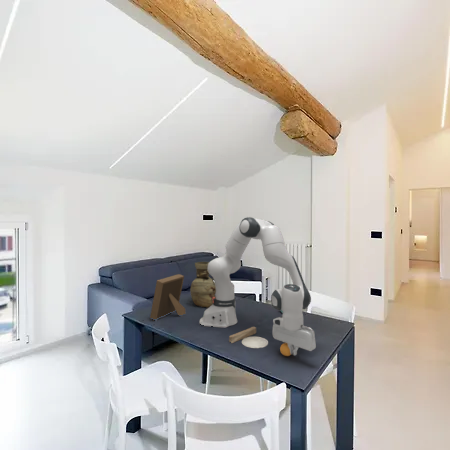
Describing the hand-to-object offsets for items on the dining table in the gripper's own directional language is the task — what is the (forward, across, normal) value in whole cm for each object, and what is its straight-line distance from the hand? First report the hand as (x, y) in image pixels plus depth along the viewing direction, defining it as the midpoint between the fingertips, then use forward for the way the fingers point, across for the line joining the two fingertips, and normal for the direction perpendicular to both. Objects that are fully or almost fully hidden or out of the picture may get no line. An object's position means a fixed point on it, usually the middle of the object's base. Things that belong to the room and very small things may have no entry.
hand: (293, 354), depth 126 cm
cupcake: (+1, +40, -48) cm, 62 cm away
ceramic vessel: (0, +90, -22) cm, 93 cm away
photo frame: (0, +85, +10) cm, 85 cm away
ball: (-1, +4, 0) cm, 4 cm away
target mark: (+1, +23, 0) cm, 23 cm away
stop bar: (+1, +31, 0) cm, 31 cm away
